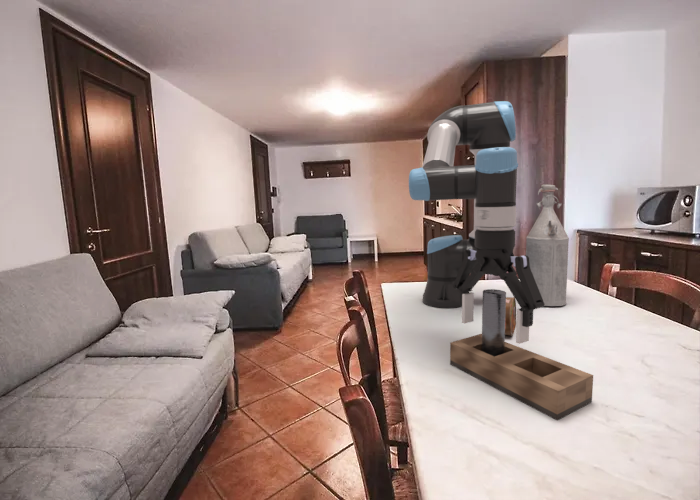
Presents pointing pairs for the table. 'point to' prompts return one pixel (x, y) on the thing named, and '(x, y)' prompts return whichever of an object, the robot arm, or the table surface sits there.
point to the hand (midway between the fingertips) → (492, 331)
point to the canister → (549, 251)
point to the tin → (510, 316)
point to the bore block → (525, 376)
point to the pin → (493, 321)
